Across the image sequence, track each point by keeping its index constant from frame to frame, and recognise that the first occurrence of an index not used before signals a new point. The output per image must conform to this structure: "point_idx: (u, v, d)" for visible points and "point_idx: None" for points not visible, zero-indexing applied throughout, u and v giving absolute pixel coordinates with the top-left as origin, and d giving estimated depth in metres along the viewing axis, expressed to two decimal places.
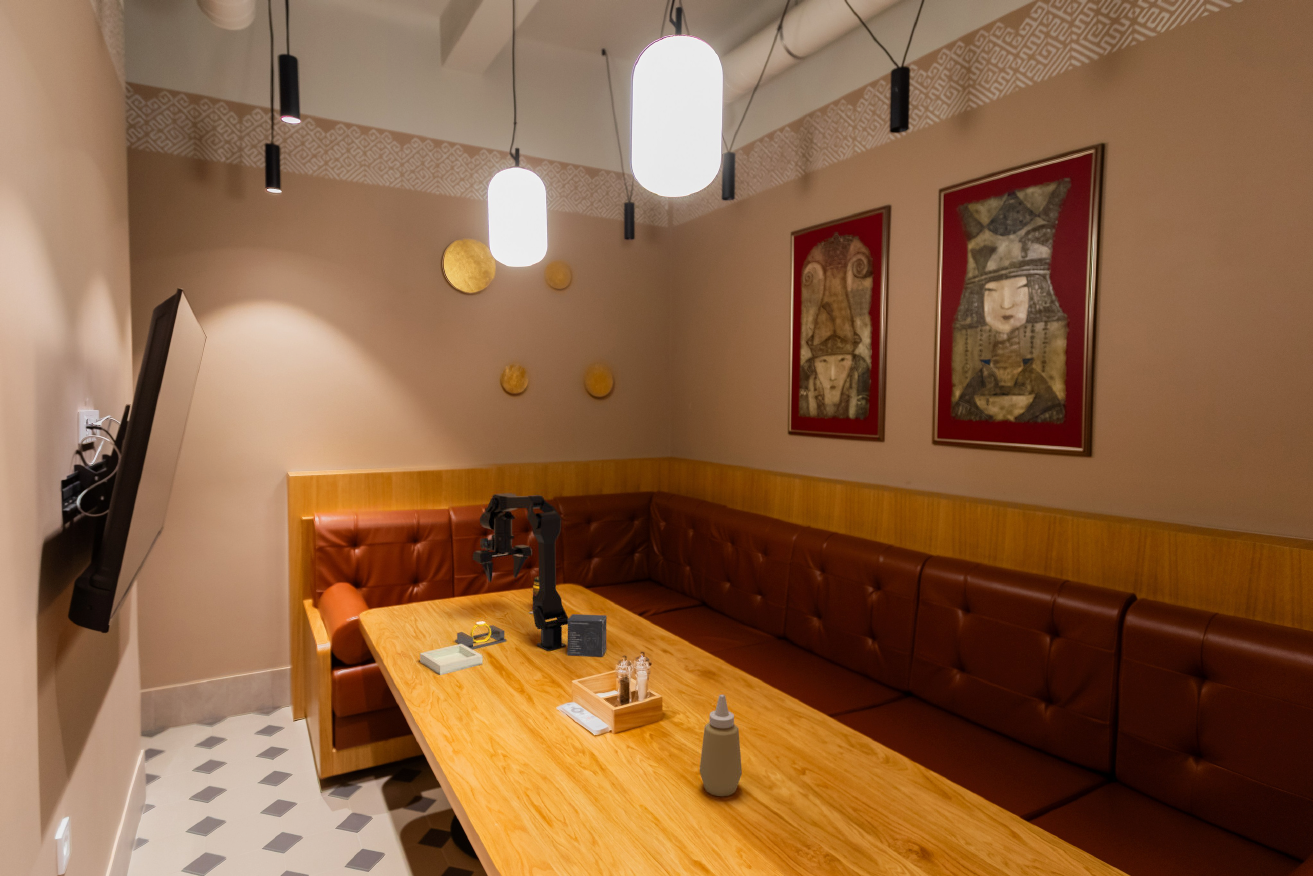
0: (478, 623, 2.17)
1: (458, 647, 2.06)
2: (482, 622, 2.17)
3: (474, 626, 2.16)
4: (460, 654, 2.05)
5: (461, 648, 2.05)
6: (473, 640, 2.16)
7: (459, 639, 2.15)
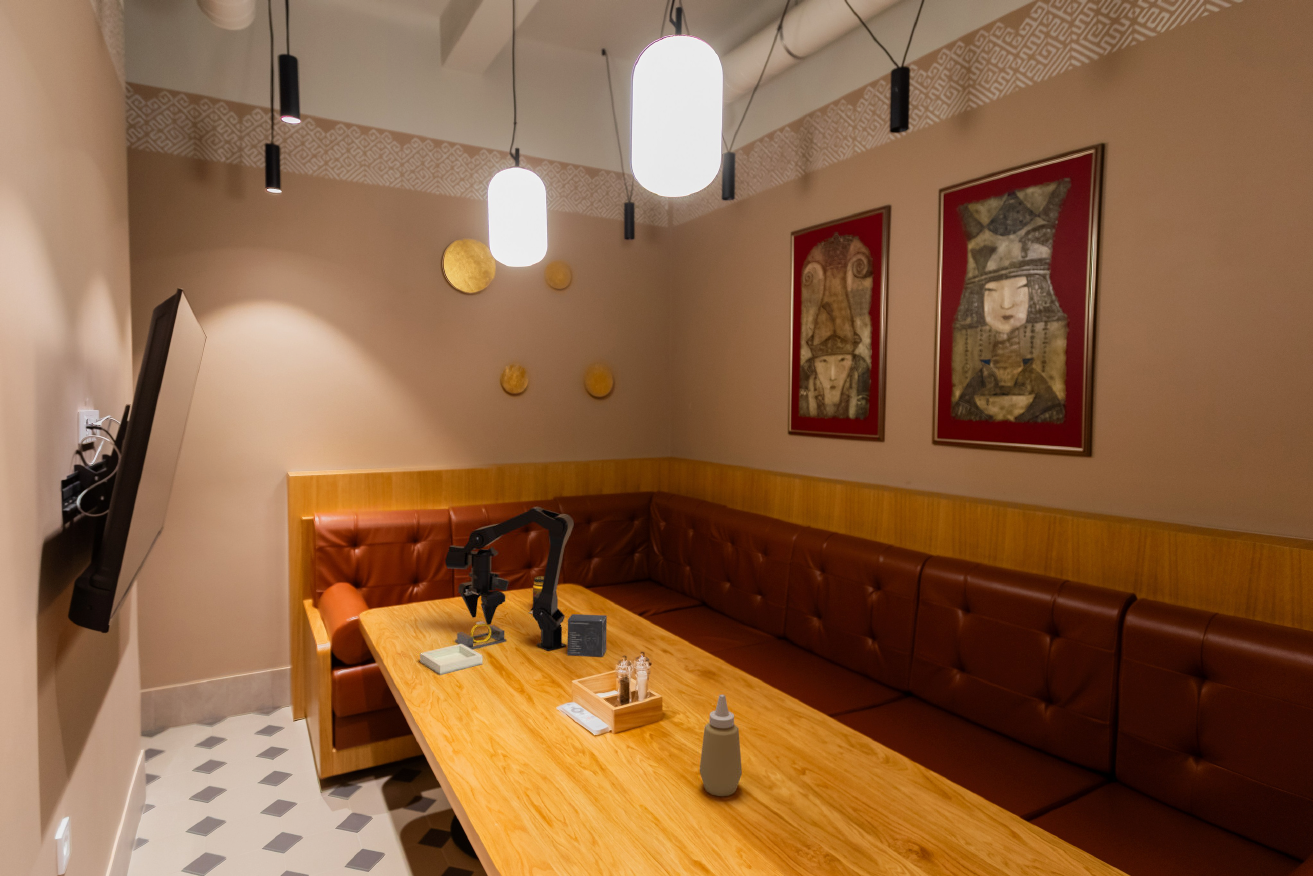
0: (478, 623, 2.17)
1: (458, 647, 2.06)
2: (482, 622, 2.17)
3: (474, 626, 2.16)
4: (460, 654, 2.05)
5: (461, 648, 2.05)
6: (473, 640, 2.16)
7: (459, 639, 2.15)
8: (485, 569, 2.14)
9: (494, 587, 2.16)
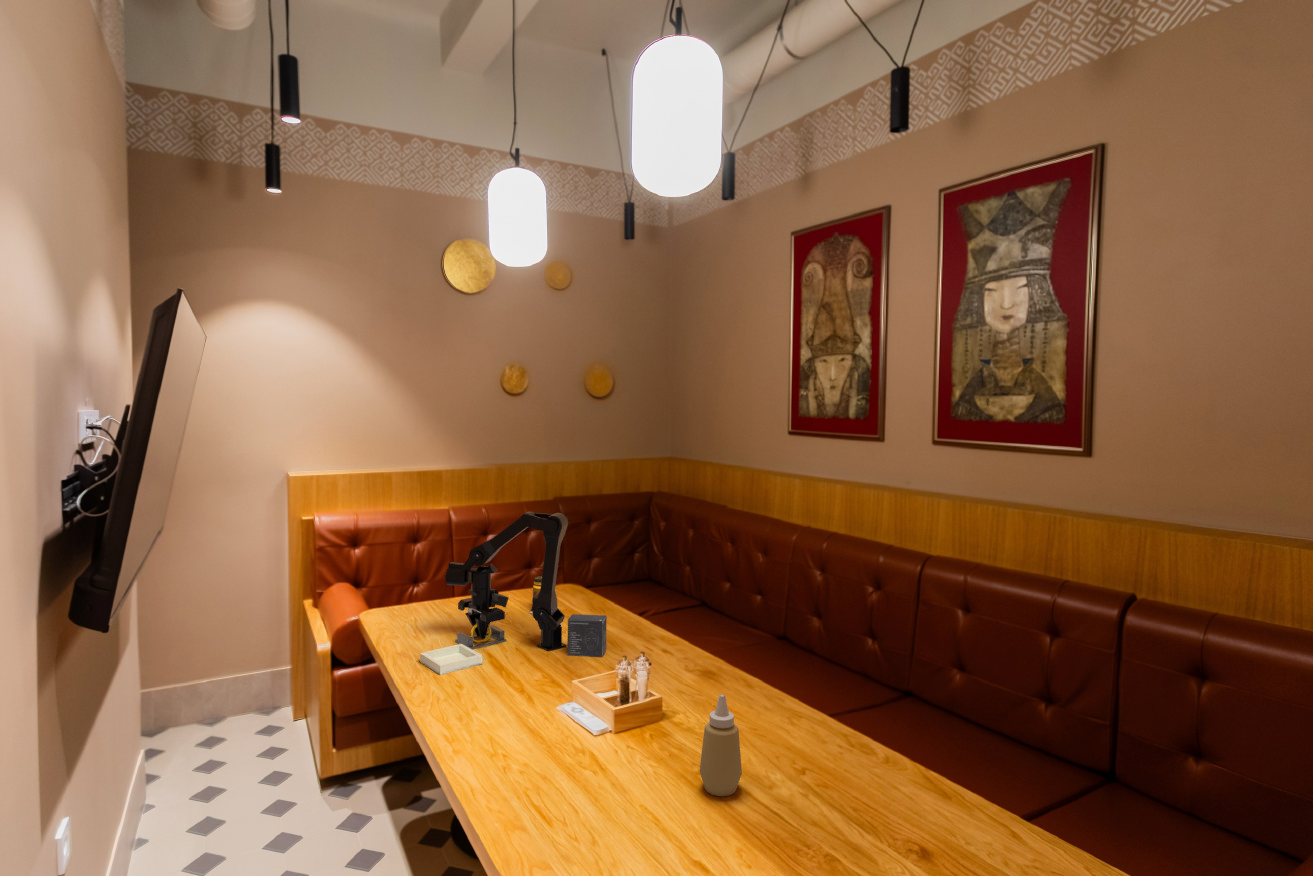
0: None
1: (458, 647, 2.06)
2: None
3: (474, 626, 2.16)
4: (460, 654, 2.05)
5: (461, 648, 2.05)
6: (473, 640, 2.16)
7: (459, 639, 2.15)
8: (485, 586, 2.14)
9: (494, 604, 2.17)
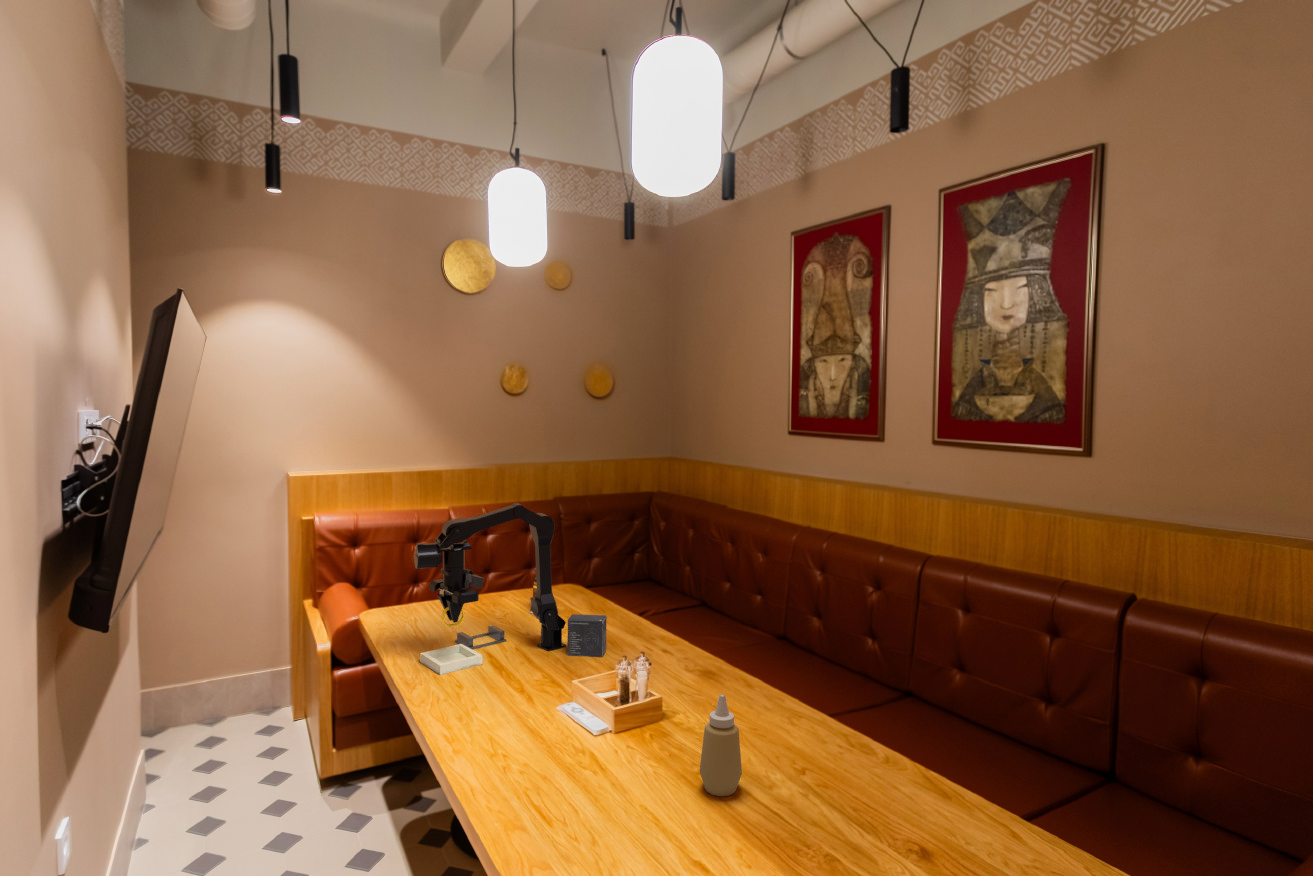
0: None
1: (458, 647, 2.06)
2: None
3: (446, 608, 1.99)
4: (460, 654, 2.05)
5: (461, 648, 2.05)
6: None
7: (459, 639, 2.15)
8: (463, 564, 1.99)
9: (467, 585, 2.00)
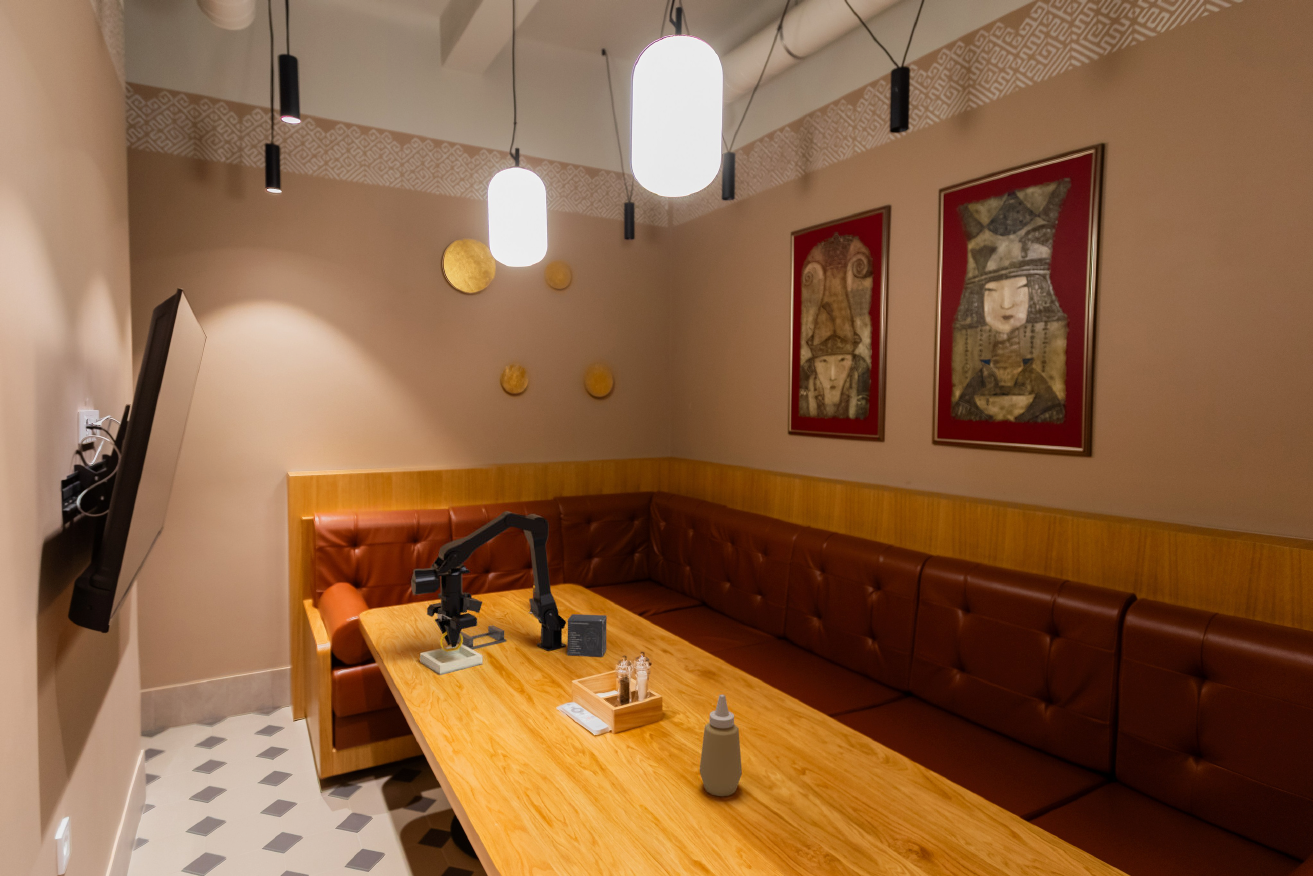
0: None
1: None
2: None
3: (444, 633, 1.98)
4: (460, 654, 2.05)
5: (461, 648, 2.05)
6: (443, 649, 1.97)
7: (459, 639, 2.15)
8: (460, 588, 1.98)
9: (465, 609, 1.98)
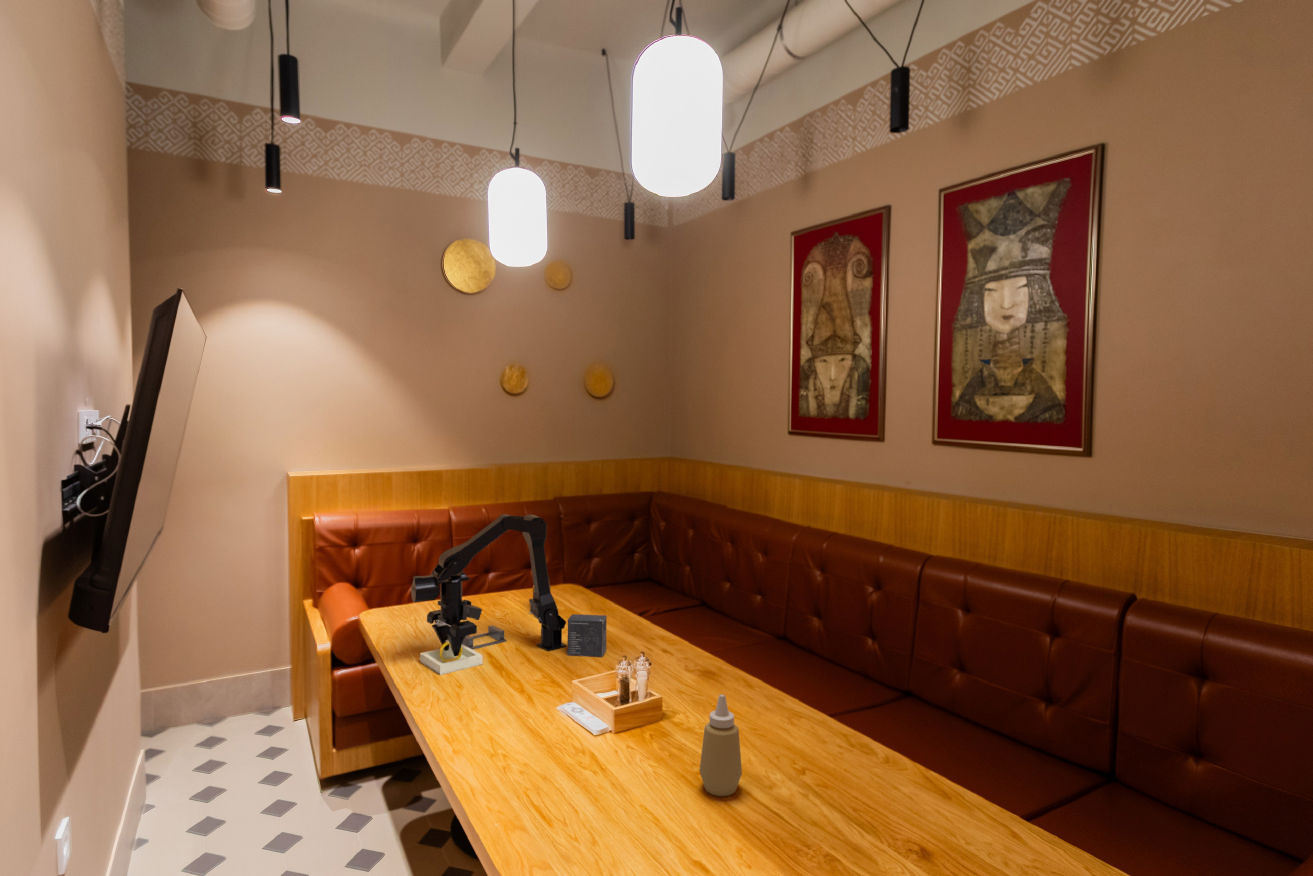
0: (448, 641, 1.99)
1: None
2: None
3: (443, 644, 1.98)
4: None
5: None
6: (442, 659, 1.98)
7: None
8: (460, 596, 1.98)
9: (465, 616, 1.98)
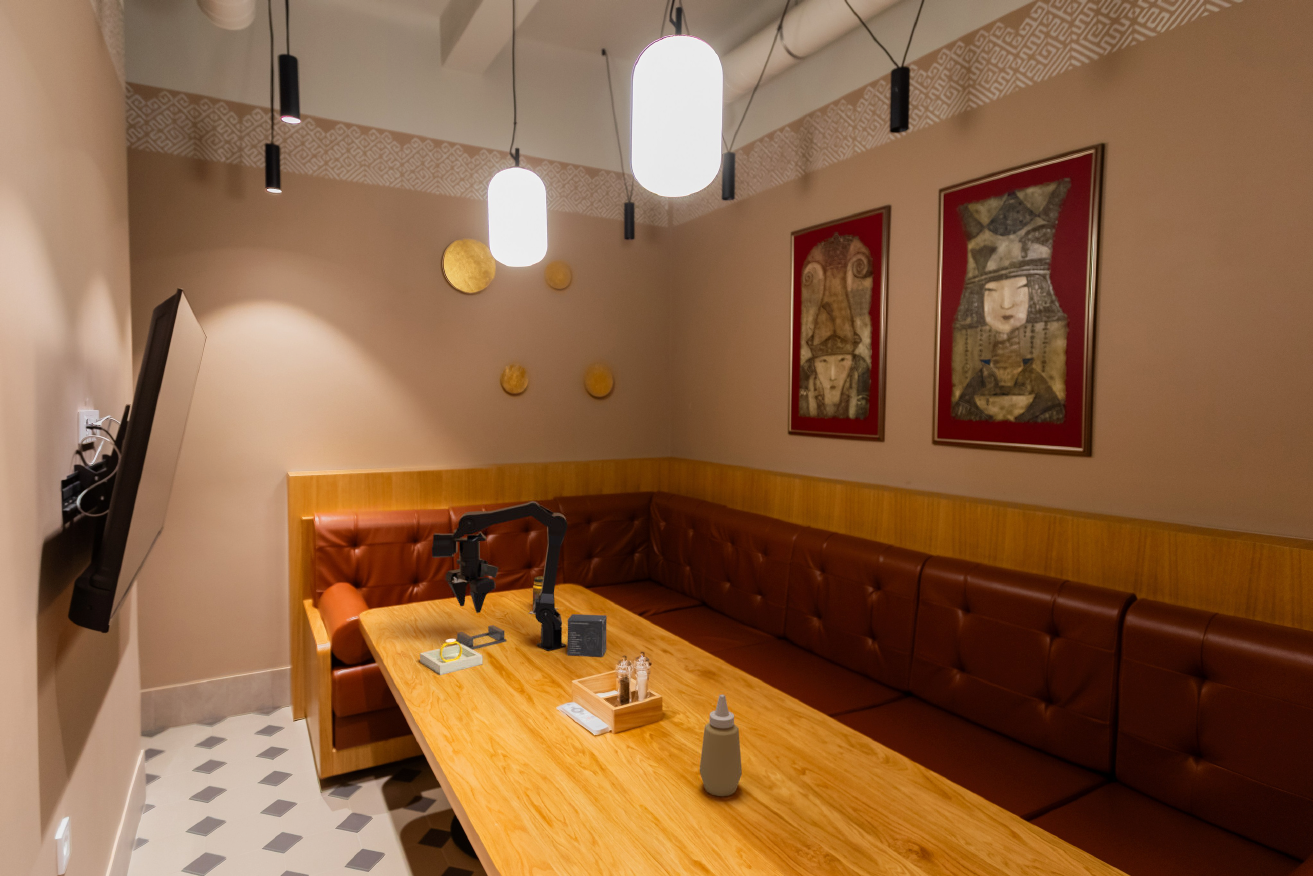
0: (448, 641, 1.99)
1: (458, 647, 2.06)
2: (452, 640, 1.99)
3: (443, 644, 1.98)
4: None
5: None
6: (442, 659, 1.98)
7: (459, 639, 2.15)
8: (476, 555, 2.07)
9: (483, 574, 2.09)
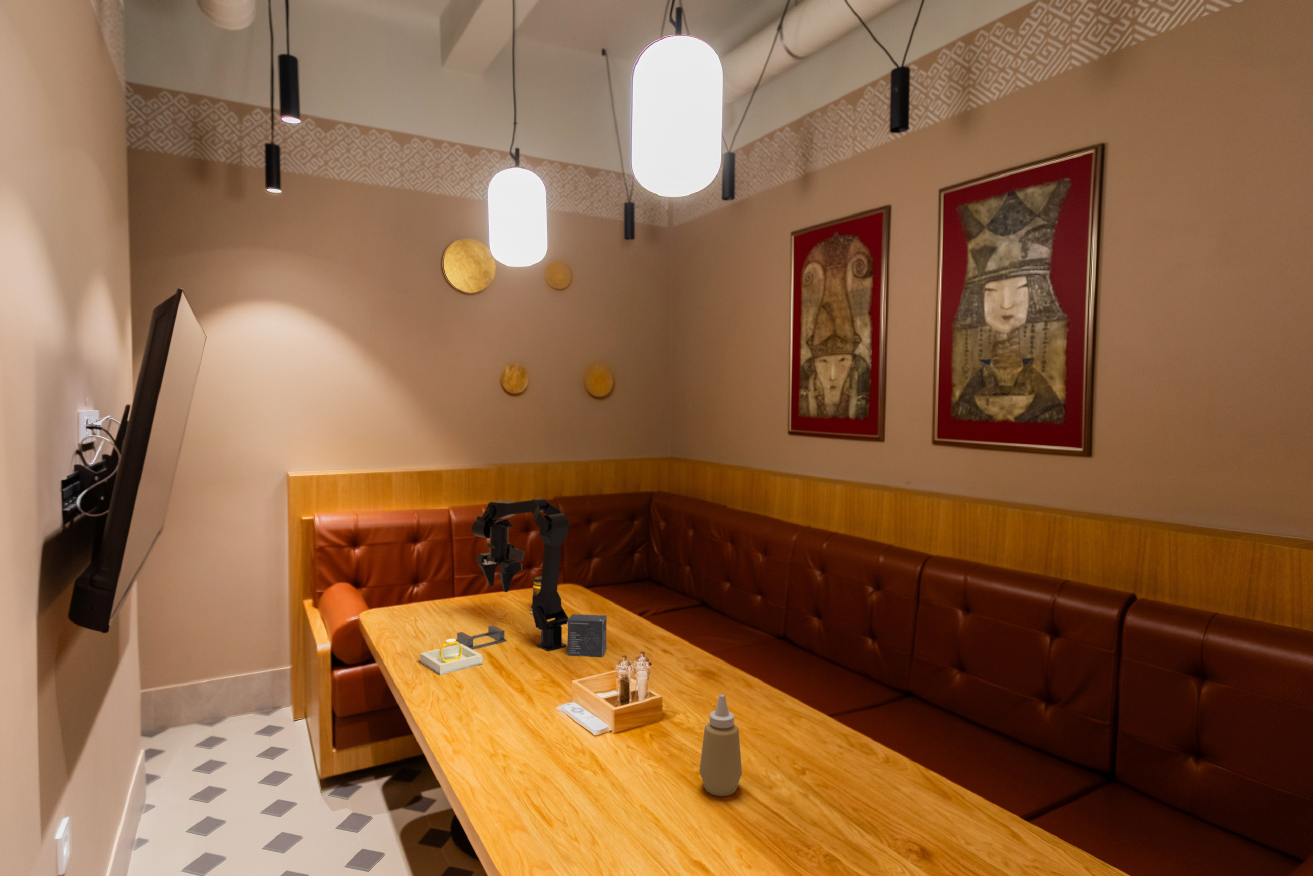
0: (448, 641, 1.99)
1: (458, 647, 2.06)
2: (452, 640, 1.99)
3: (443, 644, 1.98)
4: None
5: None
6: (442, 659, 1.98)
7: (459, 639, 2.15)
8: (498, 540, 2.25)
9: (511, 557, 2.28)
